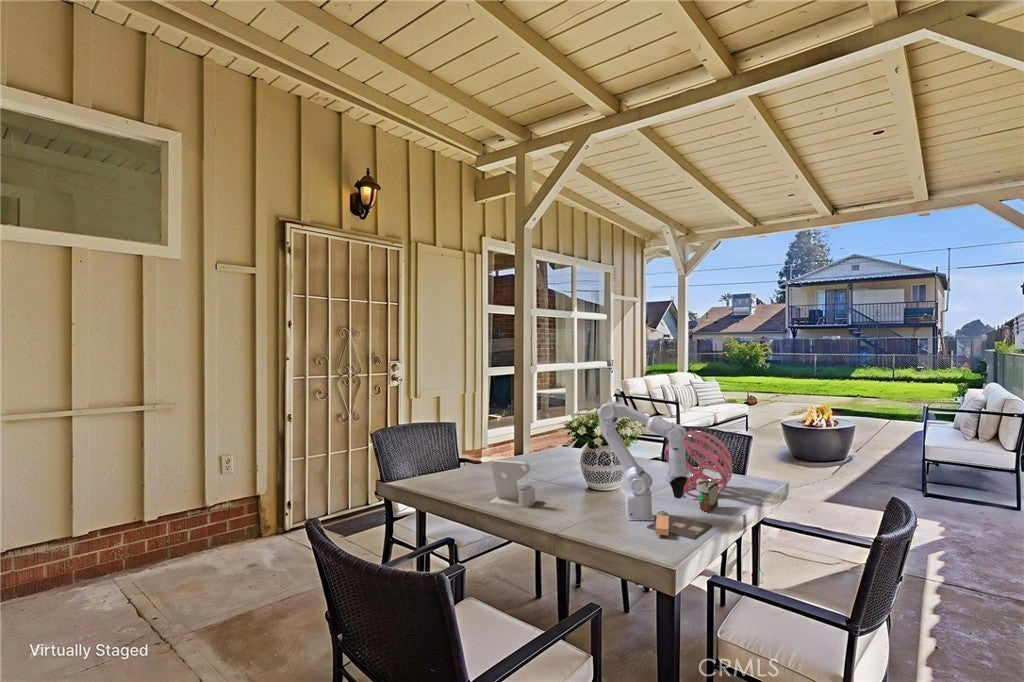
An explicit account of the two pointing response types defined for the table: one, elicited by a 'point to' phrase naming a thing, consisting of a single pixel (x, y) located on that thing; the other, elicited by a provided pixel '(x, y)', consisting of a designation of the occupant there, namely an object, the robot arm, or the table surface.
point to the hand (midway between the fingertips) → (677, 497)
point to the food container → (708, 495)
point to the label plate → (684, 527)
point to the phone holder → (512, 484)
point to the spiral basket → (705, 460)
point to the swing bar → (662, 523)
